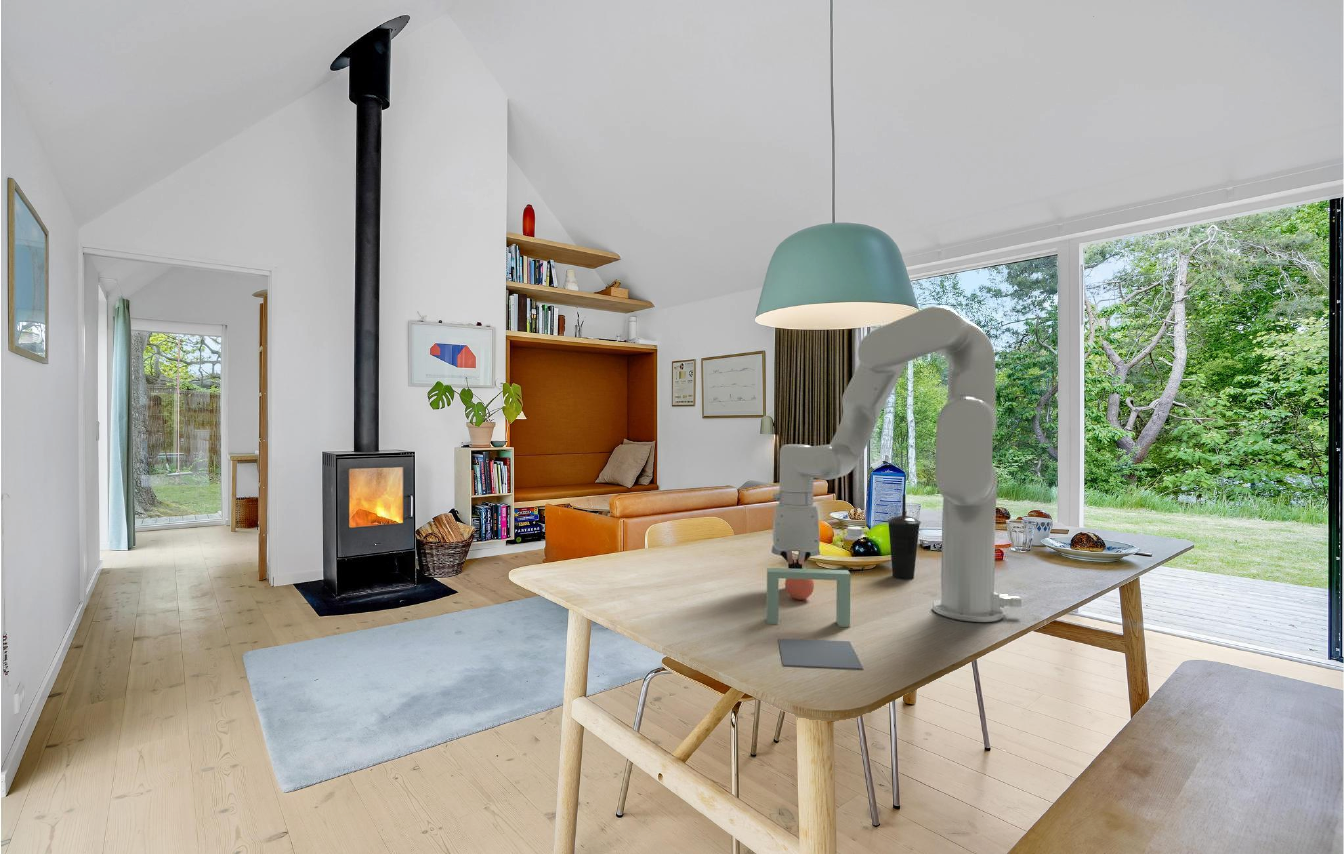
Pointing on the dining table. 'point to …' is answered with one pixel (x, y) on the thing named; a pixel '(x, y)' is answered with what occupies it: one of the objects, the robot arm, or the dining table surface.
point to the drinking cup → (903, 544)
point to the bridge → (817, 574)
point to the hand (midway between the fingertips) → (795, 580)
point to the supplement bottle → (852, 537)
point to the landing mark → (818, 654)
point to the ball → (799, 588)
